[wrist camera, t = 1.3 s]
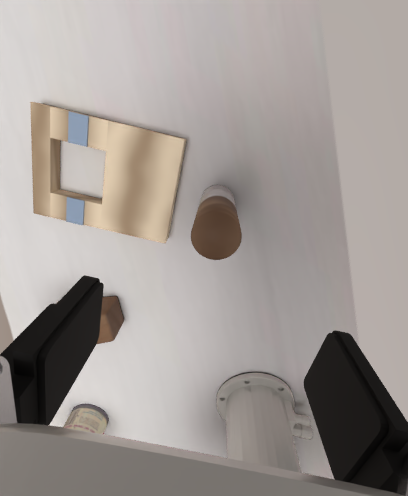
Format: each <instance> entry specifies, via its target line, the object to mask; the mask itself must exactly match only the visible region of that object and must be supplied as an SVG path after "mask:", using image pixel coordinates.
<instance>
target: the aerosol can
mask: <svg viewBox="0 0 408 496" xmlns="http://www.w3.org/2000/svg"><path fill="white" fill-rule="evenodd" d="M107 424H108V416H107V414H106V413H105V411H104V410H102V409H101V408H99V407H97V406H94V405H90V404H81V405H78V406H76V407H75V408H73V410H72V412H71V414H70V416H69V417H68V419H67V421H66V423H65V425H64V427H63V428H69V429H75V430H80V431H86V432H92V433H98V434H104V432H105V429H106V427H107Z"/></svg>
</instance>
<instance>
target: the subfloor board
mask: <svg viewBox="0 0 408 496" xmlns="http://www.w3.org/2000/svg"><path fill="white" fill-rule="evenodd" d="M31 136H32V171H33V207H34V213H35V214H39V215H43V216H48V217H52V218H56V219H61V220H65V221H66V222H71V223H75V224H79V225H87V226H91V227H96V228H100V229H104V230H109V231H113V232H117V233H122V234H126V235H130V236H135V237H139V238H143V239H148V240H152V241H156V242H161V243H166V241H167V239H168V236H169V231H170V226H171V220H172V215H173V210H174V204H175V199H176V194H177V188H178V183H179V177H180V172H181V167H182V161H183V156H184V151H185V145H186V140H187V139H184V138H180V137H176V136H172V135H168V134H164V133H160V132H155V131H151V130H147V129H143V128H139V127H135V126H131V125H127V124H123V123H119V122H115V121H111V120H107V119H103V118H98V117H94V116H90V115H86V114H82V113H78V112H74V111H70V110H66V109H62V108H58V107H54V106H50V105H46V104H41V103H35V102H31ZM60 140H62V141H66V142H69V143H73V144H78V145H82V146H86V147H91V148H95V149H100V150H104V151H106V158H105V171H104V184H103V198H102V199H99V198H95V197H91V196H86V195H82V194H78V193H73V192H69V191H65V190H61V189H60Z"/></svg>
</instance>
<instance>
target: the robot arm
mask: <svg viewBox="0 0 408 496" xmlns="http://www.w3.org/2000/svg"><path fill="white" fill-rule="evenodd" d="M102 298H103V283H100V281H99V279H98V278H94V277H89V276H83V277H82V278H81V279H80V280H79V281H78V282H77V283H76V284H75V285H74V286H73V287H72V288H71V289H70V290H69V291H68V293H67V294H66V295H65V296H64V297H63V298H62V299H61V300H60V301H59V302H58V303H57V304H50V305H49V306H48V307H47V308H46V309H45V310H44V311H43V312H42V313H41V314H40V315H39V316H38V317H37V318H36V319H35V320H34V321H33V322H32V323H31V324H30V325H29V326H28V327H27V328H26V329H25V330H24V331H23V332H22V333H21V334H20V335H19V336H18V337H17V338H16V339H15V340H14V341H13V342H12V343H11V344H10V345H9V346H8V347H7V348H6V349H5V350H4V351H3V352H2V353H1V354H0V496H408V422H407V421H406V419H405V418H404V416H403V414H402V413H401V411H400V410H399V408H398V407H397V405H396V404H395V402H394V400H393V399H392V397H391V396H390V394H389V393H388V391H387V390H386V388H385V387H384V385H383V384H382V382H381V380H380V379H379V377H378V376H377V374H376V373H375V371H374V370H373V368H372V366H371V365H370V363H369V362H368V360H367V359H366V357H365V356H364V354H363V353H362V351H361V349H360V348H359V346H358V345H357V343H356V342H355V340H354V339H353V337H352V336H351V335H350V334H349V333H345V332H340V331H333V332H332V333H329V334H328V335H327V337H326V338H325V340H324V342H323V344H322V346H321V348H320V350H319V352H318V354H317V356H316V358H315V359H314V361H313V363H312V365H311V367H310V369H309V371H308V373H307V375H306V377H305V379H304V388H305V391H306V395H307V398H308V401H309V404H310V407H311V410H312V413H313V416H314V419H315V422H316V425H317V428H318V431H319V434H320V437H321V440H322V443H323V446H324V449H325V452H326V455H327V458H328V461H329V464H330V467H331V470H332V473H333V476H334V478H335V480H333V479H328V478H324V477H319V476H314V475H309V474H304V473H301V469H300V465H299V460H298V456H297V452H296V448H295V444H294V440H293V436H297V437H299V438H304V439H309V440H311V439H312V436H313V431H312V428H311V426H310V422H311V421H310V417H309V416H306V415H299V414H296V413H295V412H294V411H293V409H294V398H293V394H292V392H291V389H290V388H289V387H288V385H287V384H286V383H284V382H283V381H282V380H280V379H278V378H277V377H274V376H272V375H268V374H264V373H246V374H242V375H238V376H236V377H233V378H231V379H230V380H228V381H227V382H225V383H224V384H223V385H222V387H221V388H220V389H219V391H218V394H217V399H216V400H217V410H218V412H219V414H220V416H221V417H222V418H223V419H224V420H225V421H226V432H227V458H224V457H219V456H214V455H209V454H203V453H198V452H193V451H188V450H183V449H178V448H172V447H167V446H162V445H157V444H151V443H146V442H141V441H136V440H131V439H125V438H120V437H115V436H110V435H104V434H98V433H92V432H86V431H80V430H75V429H69V428H63V427H56V426H48V425H49V424H50V423H51V421H52V420H53V418H54V416H55V414H56V413H57V411H58V409H59V407H60V406H61V404H62V402H63V401H64V399H65V397H66V395H67V394H68V392H69V390H70V389H71V387H72V385H73V383H74V382H75V380H76V378H77V377H78V375H79V373H80V371H81V370H82V368H83V366H84V364H85V363H86V361H87V359H88V358H89V356H90V354H91V352H92V351H93V349H94V347H95V346H96V344H97V341H98V339H99V333H100V322H101V310H102ZM296 423H298V424H296Z"/></svg>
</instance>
